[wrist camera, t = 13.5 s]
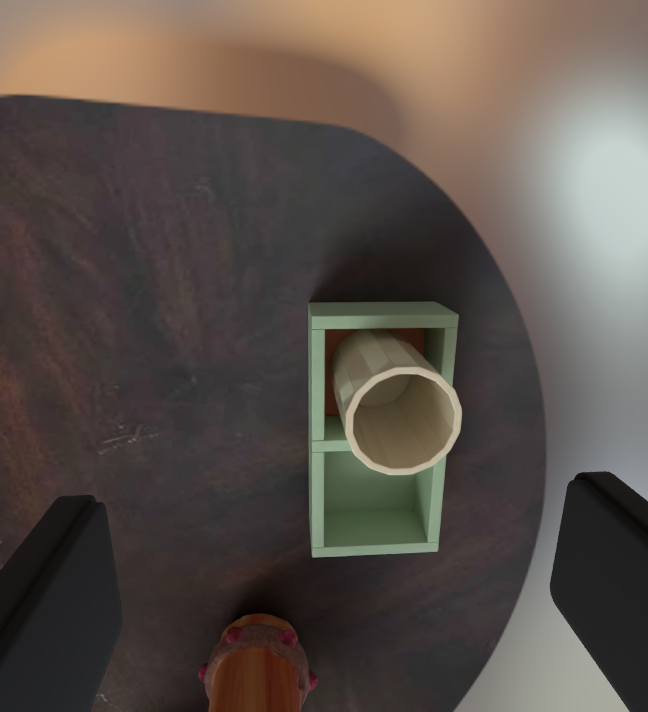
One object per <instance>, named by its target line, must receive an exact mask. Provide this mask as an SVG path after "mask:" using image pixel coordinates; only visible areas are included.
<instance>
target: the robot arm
mask: <svg viewBox="0 0 648 712" xmlns="http://www.w3.org/2000/svg"><path fill="white" fill-rule="evenodd" d="M550 592H551V595H552V599H553V601H554V603H555V605H556V606H557V608H558V609H559V611H560V612H561V614H562V615H563V616H564V618H565V619H566V621H567V622H568V624H569V625H570V626H571V628H572V629H573V631H574V632H575V634H576V635H577V636H578V638H579V639H580V641H581V642H582V644H583V645H584V647H585V648H586V649H587V651H588V652H589V654H590V655H591V657H592V658H593V659H594V661H595V662H596V664H597V665H598V667H599V668H600V669H601V671H602V672H603V674H604V675H605V677H606V678H607V680H608V681H609V682H610V684H611V685H612V687H613V688H614V690H615V691H616V692H617V694H618V695H619V697H620V698H621V700H622V701H623V702H624V704H625V705H626V707H627V708H628V710H629V711H630V712H648V501H647V500H645V499H644V498H643V497H641V496H640V495H639V494H638V493H636V492H635V491H634V490H633V489H631V488H630V487H629V486H627V485H626V484H625V483H624V482H622V481H621V480H620V479H619V478H617V477H616V476H615V475H614V474H612V473H610V472H605V471H604V472H582V473H579V474H577V475H576V477H575V479H574V480H572V481H570V482H569V484H568V486H567V491H566V498H565V503H564V509H563V514H562V520H561V525H560V531H559V536H558V542H557V548H556V553H555V560H554V564H553V571H552V576H551V581H550ZM121 626H122V608H121V601H120V595H119V589H118V582H117V576H116V569H115V563H114V557H113V550H112V544H111V537H110V531H109V525H108V518H107V512H106V507H105V505H104V503H102V502H96V499H95V497H94V496H92V495H78V496H61V497H59V498H58V499H56V500H55V502H54V503H53V504H52V506H51V507H50V508H49V509H48V511H47V512H46V513H45V514H44V516H43V517H42V518H41V520H40V521H39V522H38V523H37V525H36V526H35V527H34V528H33V530H32V531H31V532H30V534H29V535H28V536H27V537H26V539H25V540H24V541H23V542H22V544H21V545H20V546H19V547H18V549H17V550H16V551H15V553H14V554H13V555H12V556H11V558H10V559H9V560H8V561H7V563H6V564H5V565H4V567H3V568H2V569H1V570H0V712H90V710H91V707H92V705H93V702H94V700H95V697H96V694H97V692H98V689H99V687H100V684H101V681H102V679H103V676H104V674H105V671H106V668H107V666H108V663H109V661H110V658H111V655H112V653H113V650H114V648H115V645H116V642H117V640H118V637H119V634H120V631H121Z"/></svg>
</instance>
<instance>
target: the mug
mask: <svg viewBox="0 0 648 712" xmlns="http://www.w3.org/2000/svg"><path fill="white" fill-rule="evenodd" d="M198 674H199V679H200V680H201V681H202V682H204V683H205V690H206V694H207V696H208V699H209V701H210V704H209V710H208V712H301V707H302V705H303V703H304V701H305V698H306V696H307V694H308V692H309V691H312V690H313V689H314V688H315V687H316V685H317V683H318V679H317V676H316V674H315V673H314V672H313V671H312V670H310V669H309V667H308V661H307V657H306V655H305V653H304V650H303V648H302V646H301V645H300V643H299V642H298V637H297V634H296V632H295V629H294V628H293V627H292V626H291V625H290V624H289V623H288V622H287V621H285V620H283V619H281V618H278V617H275V616H273V615H268V614H264V613H257V614H251V615H246V616H243V617H242V618H240V619H238V620H236V621H234V622H233V623H231V624H230V625H228V627H227V628H226V629H225V630H224V632H223V634H222V637H221V640H220V641H219V642H218V643H217V644H216V646H215V648H214V649H213V651H212V654H211V656H210V659H209V661H208V662H207V663H205V664H204V665H203V666H202V667H201V669H200V671H199V673H198Z"/></svg>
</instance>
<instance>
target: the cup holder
mask: <svg viewBox="0 0 648 712" xmlns="http://www.w3.org/2000/svg"><path fill="white" fill-rule="evenodd" d="M458 319H459V315H458V314H456V313H455V312H453V311H451V310H449V309H448V308H446V307H444V306H442V305H440V304H439V303H437V302H312V303H308V391H309V524H310V537H311V551H312V557H333V556H353V555H374V554H395V553H416V552H436V551H438V544H439V533H440V522H441V510H442V499H443V488H444V477H445V465H446V455H445V456H444V457H443V458H442V459H440V460H439V461H438V462H437V463H436V464H435V465H434V466H432V467H429V468H427V469H424V470H422V471H419V472H417V473H414V474H409V475H388V474H385V473H382V472H379V471H376V470H373V469H371V468H369V467H368V466H366V465H365V464H364V463H363V462H362V461H361V460H360V459H359V458H358V457H356V456H355V455H354V453H353V451H352V449H351V447H350V444H349V442H348V440H347V438H346V435H345V431H344V428H343V424H342V420H341V417H340V413H339V409H338V405H337V402H336V398H335V394H334V391H333V387H332V383H331V376H330V364H331V359H332V356H333V354H334V352H335V350H336V348H337V346H338V345H339V344H340V343H341V341H342V340H343V339H344V338H346V337H347V336H348V335H350V334H351V333H353V332H355V331H357V330H359V329H371V328H388V329H391V330H393V331H395V332H397V333H399V334H401V335H402V336H403V337H404V338H405V339H406V340H407V341H408V342H409V343H410V344H411V345H412V346H413V347H414V348H415V349H416V350H417V351H418V352H419V353H420V354H421V355H422V356H423V357H424V359H425V360H426V361H427V362H428V363H429V364H430V365H431V366H432V367H433V368H434V369H435V370H436V371H437V372H438V373H439V374H440V375H441V376H442V377H443V378H444V379H445V380H446V381H447V382H448V383H449V384H450V385H451V386H452V385H453V374H454V362H455V351H456V340H457V327H458Z"/></svg>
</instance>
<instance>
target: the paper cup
mask: <svg viewBox="0 0 648 712" xmlns="http://www.w3.org/2000/svg"><path fill="white" fill-rule="evenodd" d="M330 376H331V383H332V387H333V391H334V394H335V398H336V402H337V405H338V409H339V413H340V417H341V420H342V424H343V428H344V431H345V435H346V438H347V440H348V442H349V444H350V447H351V449H352V451H353V453H354V455H355V456H356V457H358V458H359V459H360V460H361V461H362V462H363V463H364V464H365V465H366V466H368V467H369V468H371V469H373V470H376V471H379V472H382V473H385V474H388V475H409V474H414V473H417V472H419V471H422V470H424V469H427V468H429V467H432V466H434V465H435V464H436V463H437V462H438V461H439V460H440V459H442V458H443V457H444V456H445V455H446V454H447V453H448V452H449V451H450V450H451V448H452V446H453V444H454V443H455V441H456V439H457V437H458V435H459V433H460V429H461V418H462V408H461V405H460V402H459V399H458V396H457V393H456V391H455V389H454V388H453V387H452V386H451V385H450V384H449V383H448V382H447V381H446V380H445V379H444V378H443V377H442V376H441V375H440V374H439V373H438V372H437V371H436V370H435V369H434V368H433V367H432V366H431V365H430V364H429V363H428V362H427V361H426V360H425V359H424V357H423V356H422V355H421V354H420V353H419V352H418V351H417V350H416V349H415V348H414V347H413V346H412V345H411V344H410V343H409V342H408V341H407V340H406V339H405V338H404V337H403V336H402V335H401V334H399V333H397V332H395V331H393V330H391V329H388V328H371V329H359V330H357V331H355V332H353V333H351V334H350V335H348V336H347V337H346V338H344V339H343V340H342V341H341V343H340V344H339V345H338V346H337V348H336V350H335V352H334V354H333V356H332V359H331V364H330Z"/></svg>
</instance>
